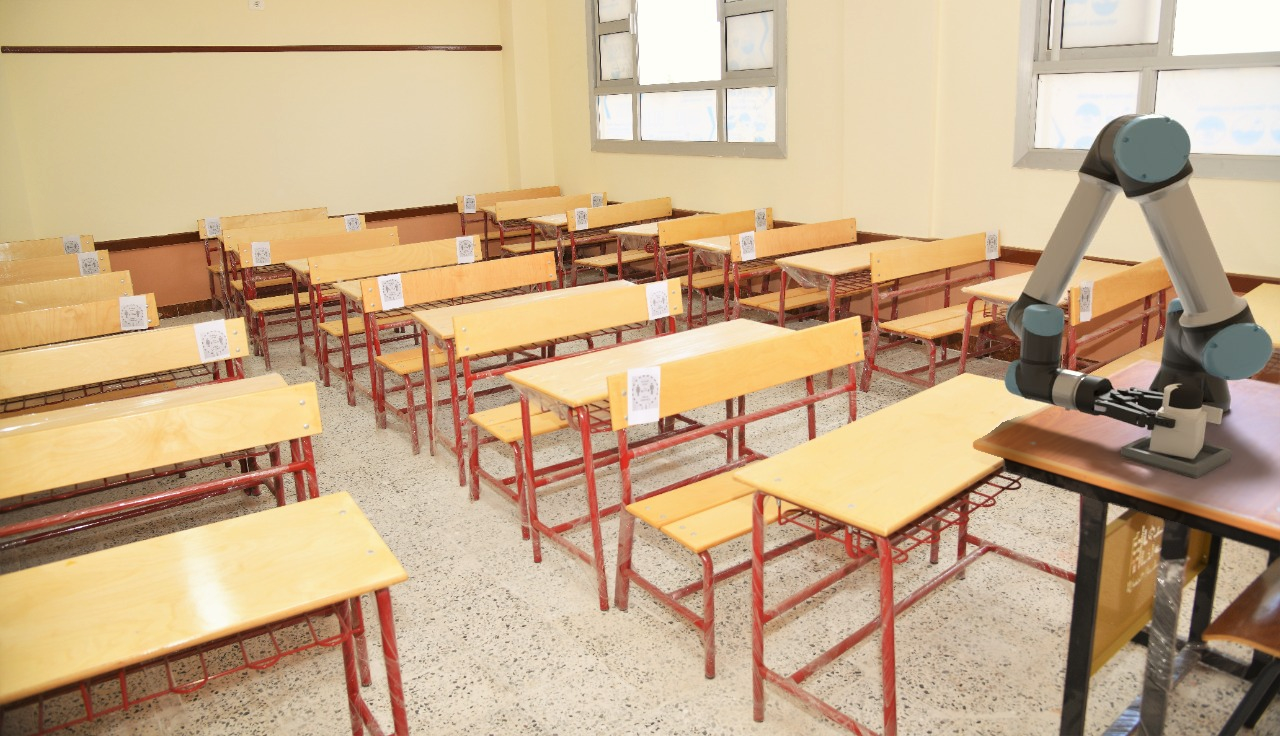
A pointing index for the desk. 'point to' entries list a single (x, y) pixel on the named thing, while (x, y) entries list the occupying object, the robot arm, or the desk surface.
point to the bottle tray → (1177, 458)
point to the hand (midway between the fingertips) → (1208, 422)
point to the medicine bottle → (1185, 404)
